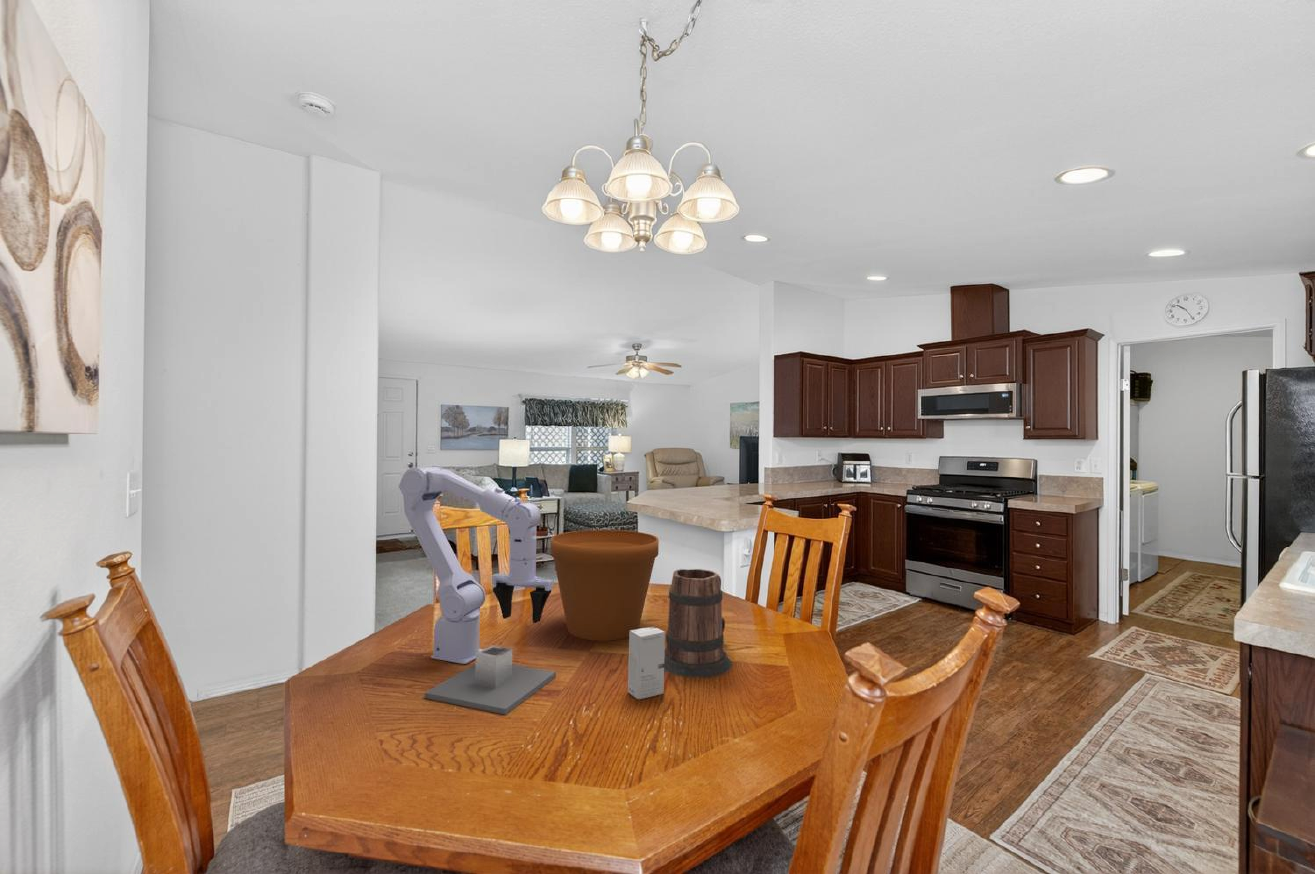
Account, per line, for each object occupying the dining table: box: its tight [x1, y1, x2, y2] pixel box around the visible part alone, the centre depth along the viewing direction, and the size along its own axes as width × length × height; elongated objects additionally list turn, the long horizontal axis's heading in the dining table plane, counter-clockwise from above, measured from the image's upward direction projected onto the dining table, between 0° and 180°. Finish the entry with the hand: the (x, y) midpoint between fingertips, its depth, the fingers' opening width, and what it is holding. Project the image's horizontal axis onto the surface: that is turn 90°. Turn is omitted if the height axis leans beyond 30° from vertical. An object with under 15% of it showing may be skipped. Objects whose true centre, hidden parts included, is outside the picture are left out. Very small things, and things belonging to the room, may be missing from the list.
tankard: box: [664, 568, 733, 679], centre depth 134 cm, size 24×17×20 cm
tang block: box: [423, 663, 557, 716], centre depth 117 cm, size 18×18×4 cm
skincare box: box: [627, 626, 666, 700], centre depth 115 cm, size 6×4×12 cm
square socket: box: [475, 644, 514, 689], centre depth 117 cm, size 5×5×6 cm
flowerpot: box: [549, 529, 660, 641], centre depth 154 cm, size 28×28×24 cm
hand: (521, 619), depth 130 cm, fingers open, 7 cm apart
